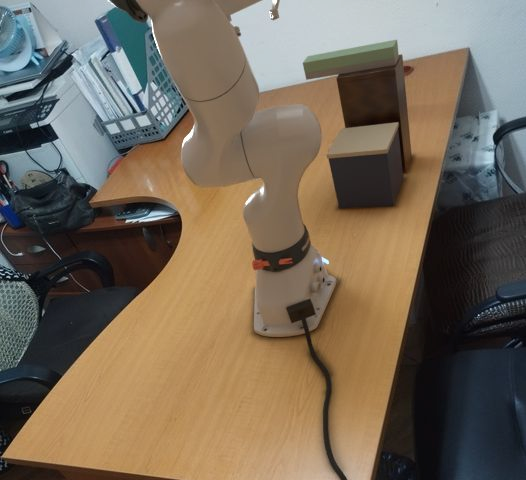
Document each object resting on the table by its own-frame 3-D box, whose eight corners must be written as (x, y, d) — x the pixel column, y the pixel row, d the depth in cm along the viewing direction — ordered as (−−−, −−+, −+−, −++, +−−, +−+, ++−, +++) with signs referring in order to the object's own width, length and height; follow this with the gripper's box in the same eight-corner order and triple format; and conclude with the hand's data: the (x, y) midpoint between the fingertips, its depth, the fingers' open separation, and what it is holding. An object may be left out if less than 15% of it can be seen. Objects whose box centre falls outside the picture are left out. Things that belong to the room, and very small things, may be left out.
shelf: (354, 176, 140) (336, 78, 122) (361, 160, 144) (345, 64, 126) (405, 172, 133) (395, 68, 115) (411, 156, 138) (402, 54, 120)
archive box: (338, 208, 131) (326, 154, 121) (350, 181, 138) (340, 128, 128) (394, 206, 125) (386, 149, 114) (404, 178, 132) (398, 122, 121)
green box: (306, 79, 127) (302, 63, 124) (311, 72, 129) (307, 56, 126) (395, 65, 117) (393, 46, 114) (398, 57, 119) (397, 39, 116)
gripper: (194, -25, 100) (218, 50, 110) (286, -67, 102) (302, 10, 111) (186, -28, 105) (210, 44, 115) (274, -68, 106) (290, 7, 116)
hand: (256, 27), depth 113 cm, fingers open, 8 cm apart
